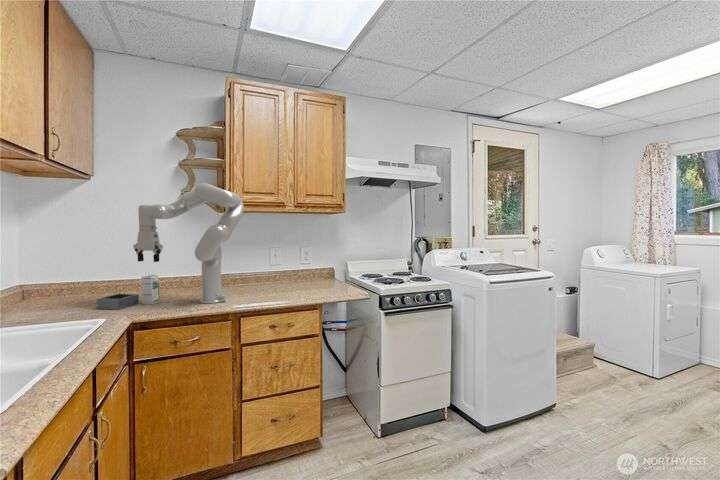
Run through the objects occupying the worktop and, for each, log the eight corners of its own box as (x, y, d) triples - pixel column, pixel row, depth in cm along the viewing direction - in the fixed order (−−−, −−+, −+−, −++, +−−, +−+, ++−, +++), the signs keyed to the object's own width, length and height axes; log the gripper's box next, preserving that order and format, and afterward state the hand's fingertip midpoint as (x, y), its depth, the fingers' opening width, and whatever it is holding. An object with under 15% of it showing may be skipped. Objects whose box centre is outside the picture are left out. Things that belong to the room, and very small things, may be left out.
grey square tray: (139, 303, 184) (138, 294, 183) (118, 309, 172) (117, 299, 171) (119, 302, 186) (118, 293, 186) (97, 308, 174) (96, 298, 174)
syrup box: (153, 304, 182) (151, 276, 182) (142, 304, 183) (140, 276, 182) (160, 301, 188) (158, 274, 187) (149, 301, 188) (148, 274, 188)
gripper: (167, 228, 185) (168, 261, 186) (139, 228, 189) (140, 260, 190) (156, 229, 178) (157, 262, 179) (127, 228, 181) (128, 261, 182)
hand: (148, 261), depth 184 cm, fingers open, 9 cm apart
